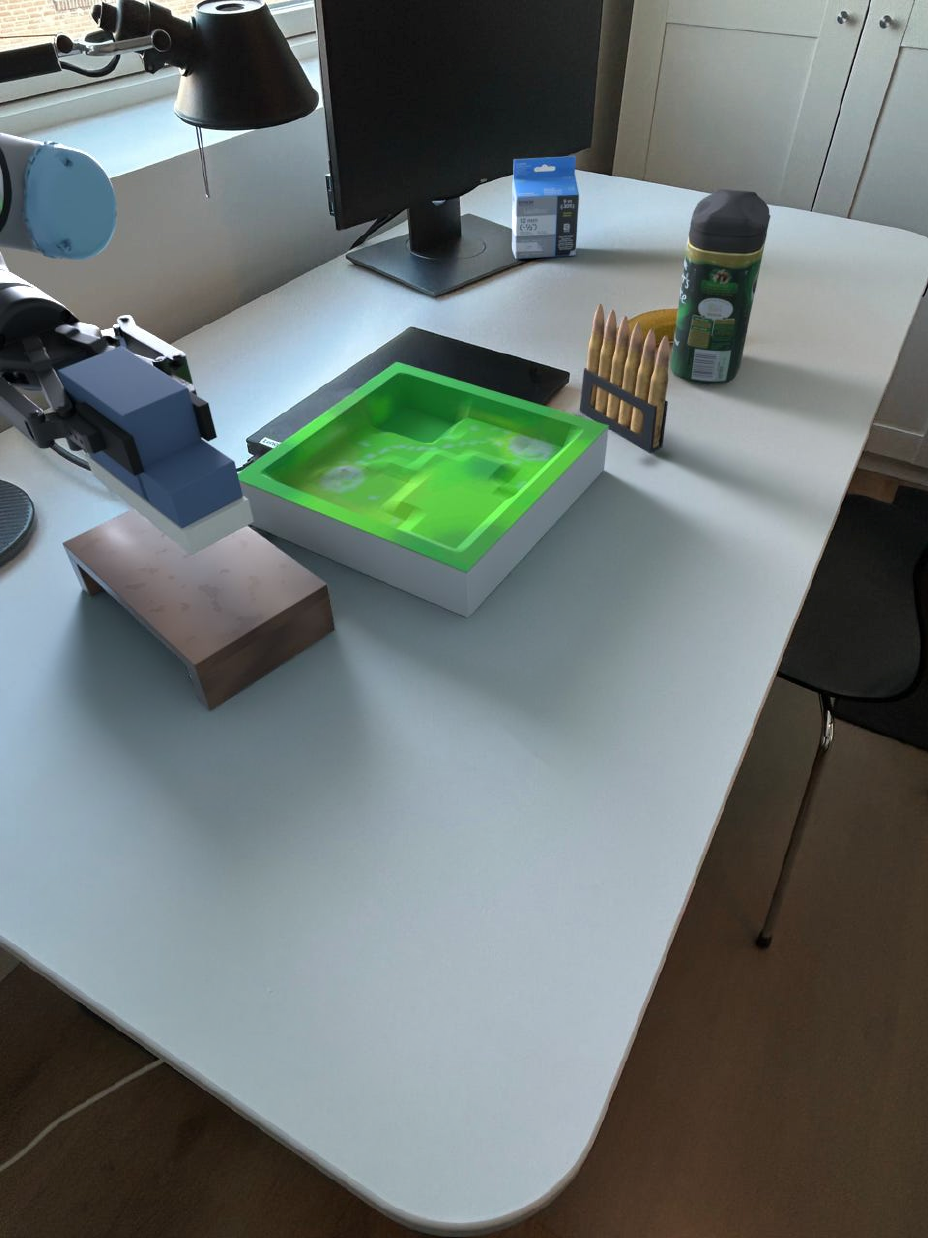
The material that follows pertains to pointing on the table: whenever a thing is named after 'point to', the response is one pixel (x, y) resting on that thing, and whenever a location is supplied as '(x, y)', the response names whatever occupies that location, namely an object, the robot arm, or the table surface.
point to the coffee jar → (718, 285)
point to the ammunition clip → (626, 381)
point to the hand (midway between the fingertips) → (171, 438)
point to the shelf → (207, 599)
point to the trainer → (160, 450)
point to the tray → (426, 483)
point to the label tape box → (544, 208)
